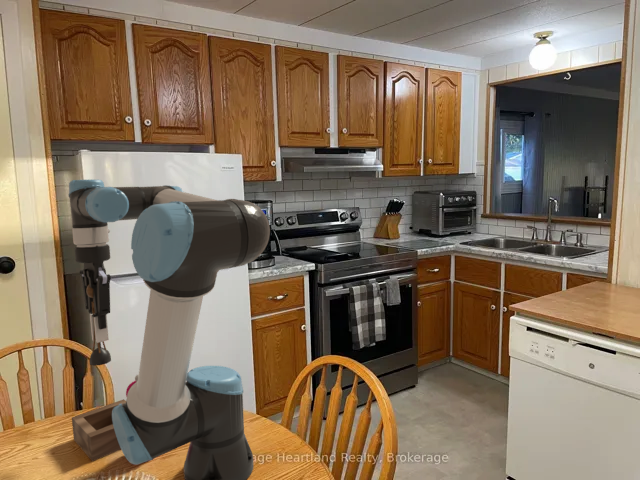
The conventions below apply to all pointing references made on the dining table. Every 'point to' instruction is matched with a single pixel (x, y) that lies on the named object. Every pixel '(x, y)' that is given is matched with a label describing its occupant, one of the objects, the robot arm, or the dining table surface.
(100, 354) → the wooden tabletop sculpture
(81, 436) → the box
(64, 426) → the dining table surface
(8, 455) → the dining table surface
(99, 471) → the dining table surface
